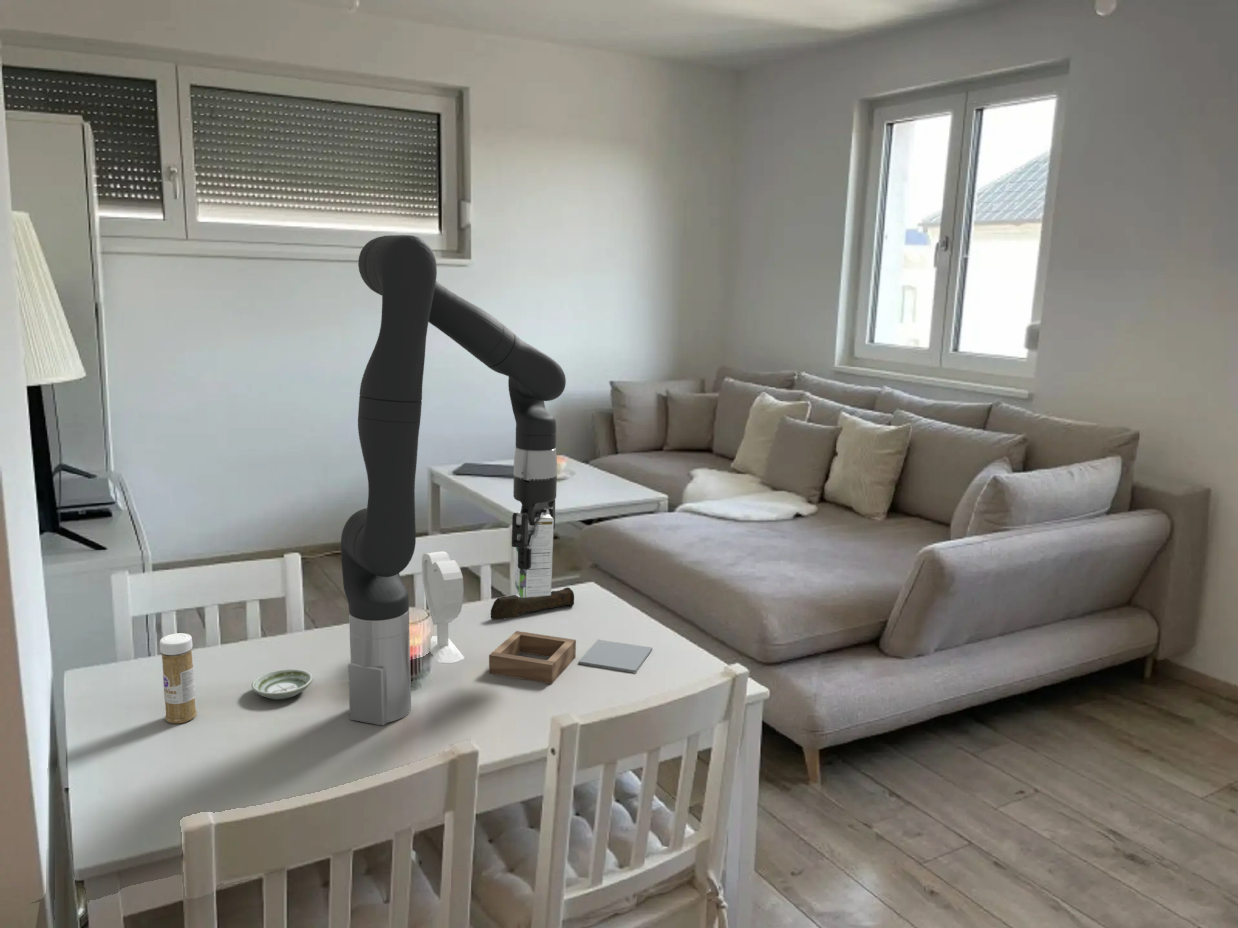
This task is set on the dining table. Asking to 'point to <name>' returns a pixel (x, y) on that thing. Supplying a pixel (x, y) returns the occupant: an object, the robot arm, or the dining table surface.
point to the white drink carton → (537, 562)
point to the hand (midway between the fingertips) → (533, 561)
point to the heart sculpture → (443, 601)
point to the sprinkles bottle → (178, 677)
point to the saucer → (282, 683)
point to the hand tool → (530, 603)
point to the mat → (616, 656)
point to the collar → (531, 668)
